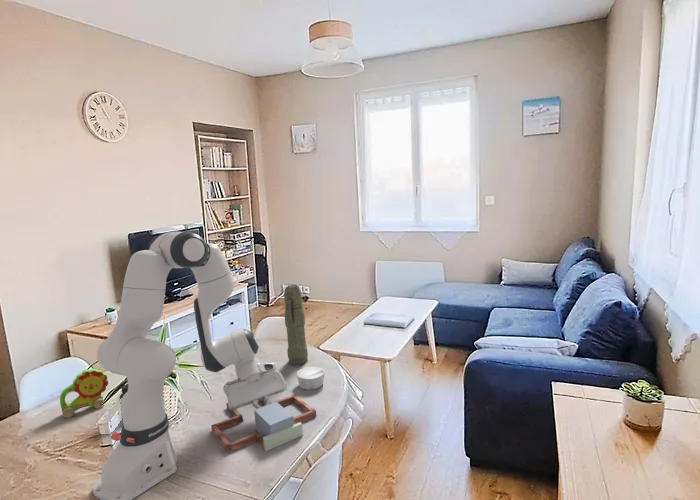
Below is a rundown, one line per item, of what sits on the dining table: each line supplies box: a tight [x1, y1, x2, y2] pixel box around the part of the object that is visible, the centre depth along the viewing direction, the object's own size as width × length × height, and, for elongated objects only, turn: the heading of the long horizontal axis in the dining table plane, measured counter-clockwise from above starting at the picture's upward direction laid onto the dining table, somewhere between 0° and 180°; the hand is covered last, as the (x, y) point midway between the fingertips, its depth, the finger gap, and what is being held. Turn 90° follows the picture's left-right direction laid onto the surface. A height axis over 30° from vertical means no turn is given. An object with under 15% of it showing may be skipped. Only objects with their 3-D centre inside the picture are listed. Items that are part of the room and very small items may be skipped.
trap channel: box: [211, 394, 317, 454], centre depth 148 cm, size 32×31×2 cm
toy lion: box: [59, 368, 109, 419], centre depth 162 cm, size 16×6×15 cm, turn 126°
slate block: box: [254, 401, 294, 437], centre depth 140 cm, size 12×8×7 cm, turn 36°
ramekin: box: [296, 366, 326, 391], centre depth 172 cm, size 11×11×5 cm
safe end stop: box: [262, 422, 304, 452], centre depth 135 cm, size 1×13×4 cm, turn 125°
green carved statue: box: [283, 284, 309, 366], centre depth 193 cm, size 9×12×35 cm
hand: (265, 411), depth 145 cm, fingers closed, pressing on slate block
